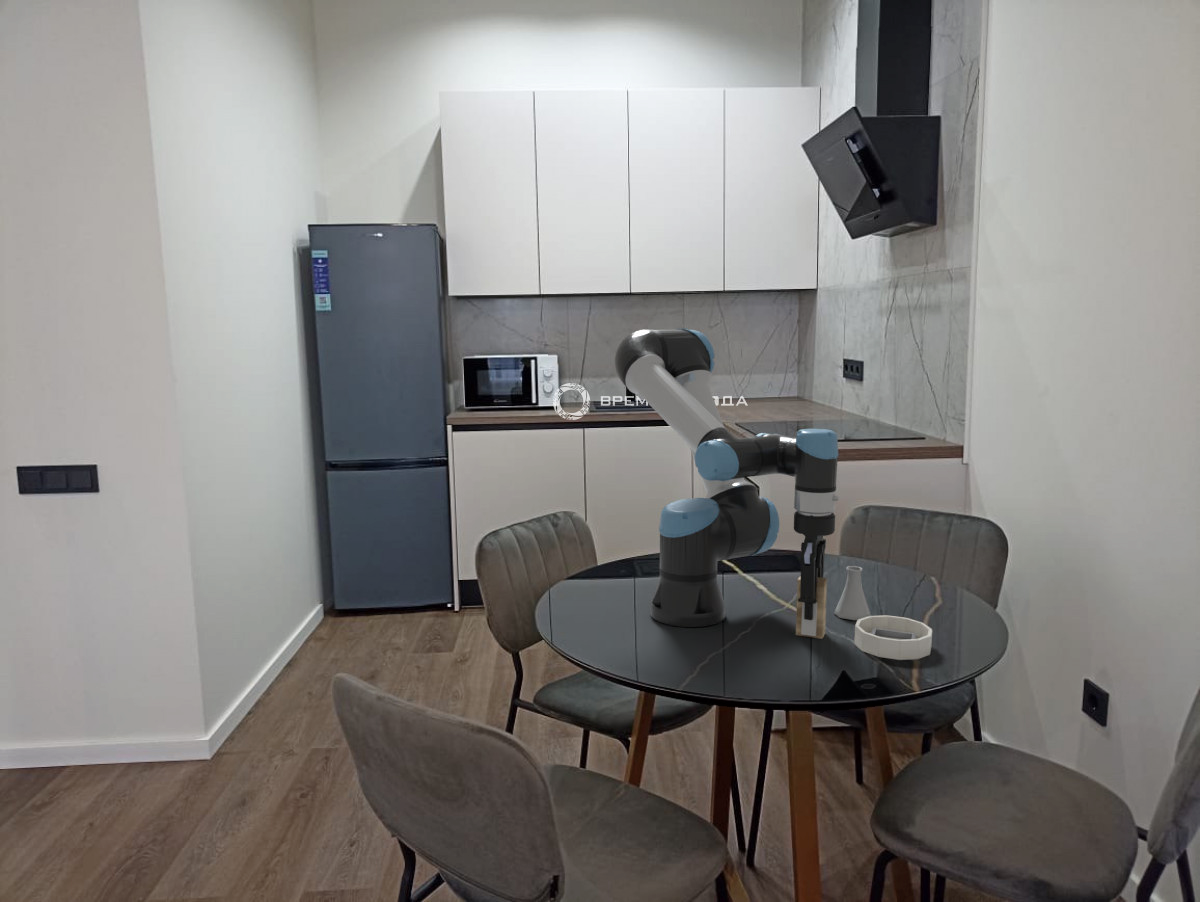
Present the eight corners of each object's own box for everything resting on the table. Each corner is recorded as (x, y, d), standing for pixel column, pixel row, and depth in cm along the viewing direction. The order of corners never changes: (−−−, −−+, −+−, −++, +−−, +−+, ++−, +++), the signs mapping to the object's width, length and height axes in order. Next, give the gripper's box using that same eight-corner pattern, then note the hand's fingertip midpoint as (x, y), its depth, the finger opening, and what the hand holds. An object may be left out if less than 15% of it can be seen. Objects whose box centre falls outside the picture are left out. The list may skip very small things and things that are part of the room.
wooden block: (795, 635, 166) (797, 579, 164) (798, 629, 169) (800, 575, 167) (822, 638, 164) (824, 582, 162) (825, 633, 167) (827, 578, 165)
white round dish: (850, 652, 157) (851, 634, 156) (860, 629, 169) (861, 611, 168) (928, 664, 152) (929, 645, 151) (932, 639, 164) (933, 621, 163)
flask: (872, 622, 173) (874, 574, 171) (835, 620, 174) (837, 572, 173) (869, 611, 180) (871, 564, 178) (832, 608, 181) (834, 562, 180)
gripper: (827, 522, 154) (823, 648, 157) (841, 505, 168) (837, 621, 172) (785, 518, 157) (781, 642, 160) (802, 502, 171) (799, 616, 175)
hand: (810, 631), depth 166 cm, fingers closed on wooden block, 3 cm apart
